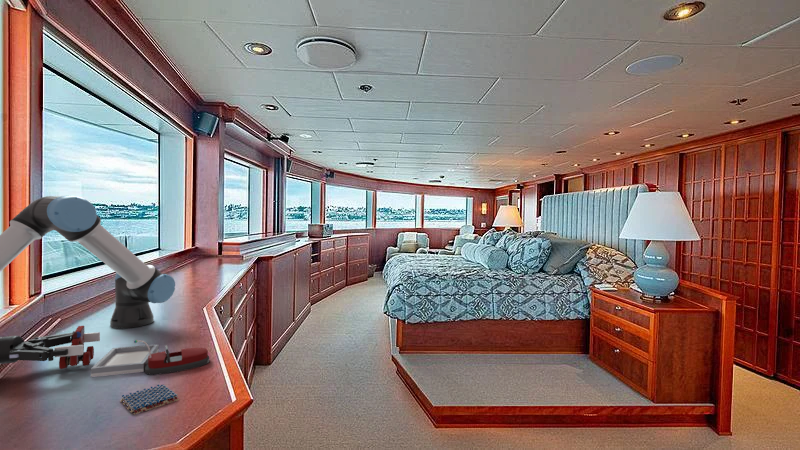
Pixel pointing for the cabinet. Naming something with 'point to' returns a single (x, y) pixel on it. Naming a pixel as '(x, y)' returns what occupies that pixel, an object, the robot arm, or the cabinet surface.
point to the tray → (124, 360)
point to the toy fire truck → (74, 360)
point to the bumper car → (175, 360)
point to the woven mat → (149, 398)
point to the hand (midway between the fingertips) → (91, 342)
